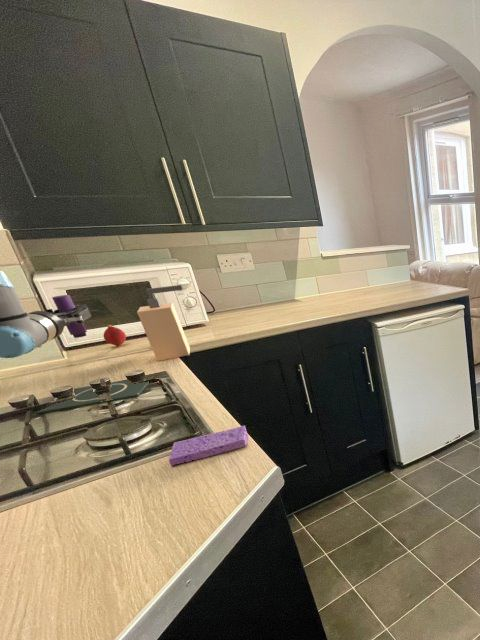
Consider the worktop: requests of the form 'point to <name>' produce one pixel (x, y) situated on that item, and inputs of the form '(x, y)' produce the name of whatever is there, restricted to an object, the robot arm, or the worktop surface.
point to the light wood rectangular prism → (163, 326)
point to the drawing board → (90, 398)
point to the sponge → (208, 445)
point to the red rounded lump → (114, 335)
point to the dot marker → (67, 305)
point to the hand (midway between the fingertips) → (77, 309)
